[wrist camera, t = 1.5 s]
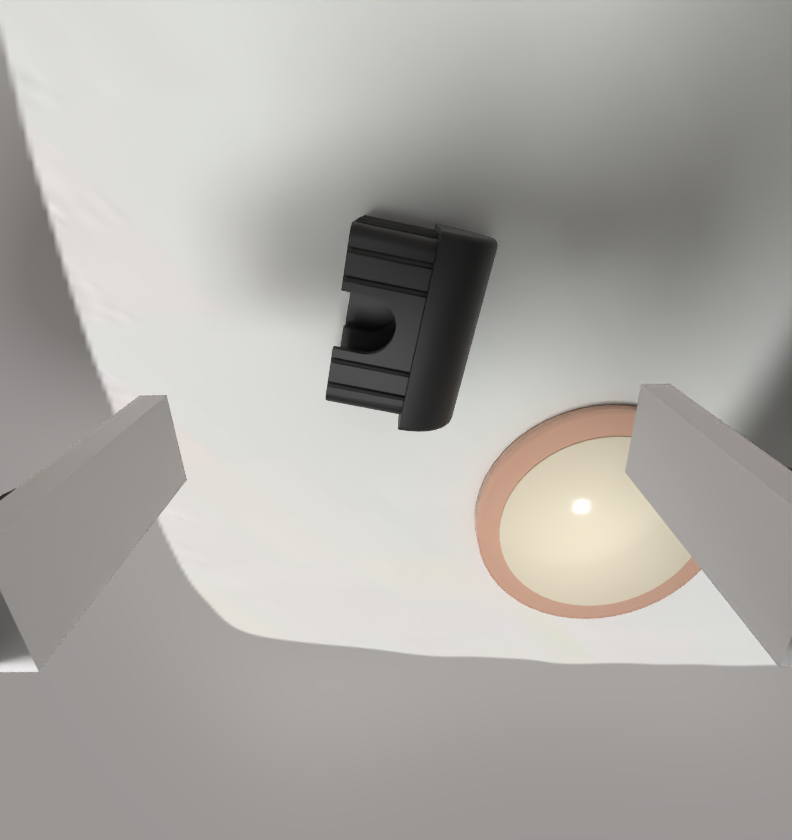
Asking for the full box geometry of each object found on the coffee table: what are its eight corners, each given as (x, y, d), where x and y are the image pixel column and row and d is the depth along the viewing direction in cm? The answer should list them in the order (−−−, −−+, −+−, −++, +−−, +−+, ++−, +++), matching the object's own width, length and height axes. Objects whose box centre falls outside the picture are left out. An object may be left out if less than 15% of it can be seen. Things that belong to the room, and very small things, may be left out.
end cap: (446, 395, 32) (454, 442, 26) (338, 374, 32) (321, 417, 26) (487, 234, 28) (509, 245, 22) (364, 208, 28) (351, 211, 21)
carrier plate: (745, 402, 32) (763, 412, 30) (689, 603, 39) (701, 620, 37) (479, 407, 32) (482, 417, 31) (471, 604, 39) (473, 621, 38)
